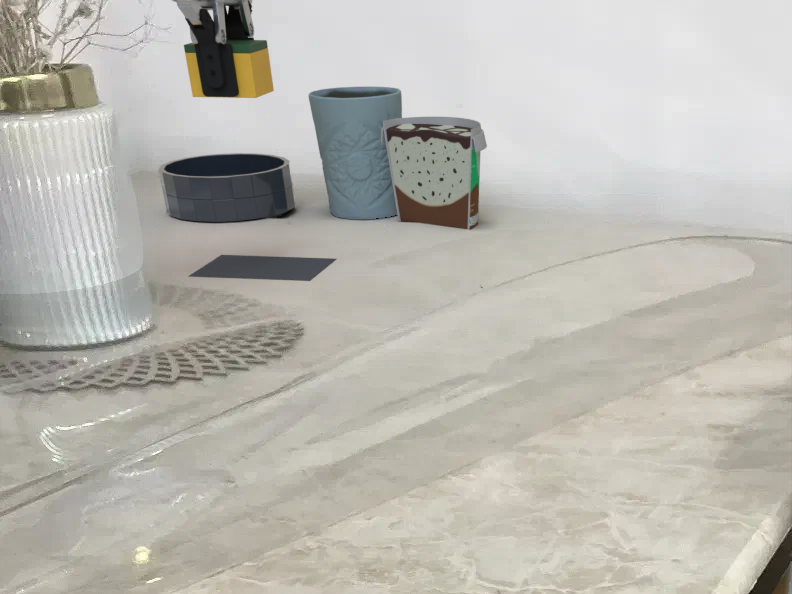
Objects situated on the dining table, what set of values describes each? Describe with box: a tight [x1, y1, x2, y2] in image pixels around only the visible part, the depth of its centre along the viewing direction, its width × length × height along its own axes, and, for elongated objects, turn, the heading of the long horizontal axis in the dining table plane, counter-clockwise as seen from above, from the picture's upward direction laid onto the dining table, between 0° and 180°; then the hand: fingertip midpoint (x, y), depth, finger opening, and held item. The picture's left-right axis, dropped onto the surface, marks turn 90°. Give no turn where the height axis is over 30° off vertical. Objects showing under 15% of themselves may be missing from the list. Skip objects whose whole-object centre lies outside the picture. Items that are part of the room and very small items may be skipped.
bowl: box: [158, 152, 296, 223], centre depth 128 cm, size 14×14×5 cm
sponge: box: [183, 39, 275, 99], centre depth 102 cm, size 6×4×4 cm
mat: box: [187, 254, 338, 282], centre depth 109 cm, size 12×8×1 cm, turn 81°
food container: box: [381, 116, 488, 231], centre depth 122 cm, size 12×6×10 cm, turn 59°
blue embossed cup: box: [308, 86, 403, 220], centre depth 127 cm, size 10×10×12 cm
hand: (232, 89), depth 103 cm, fingers closed on sponge, 4 cm apart
